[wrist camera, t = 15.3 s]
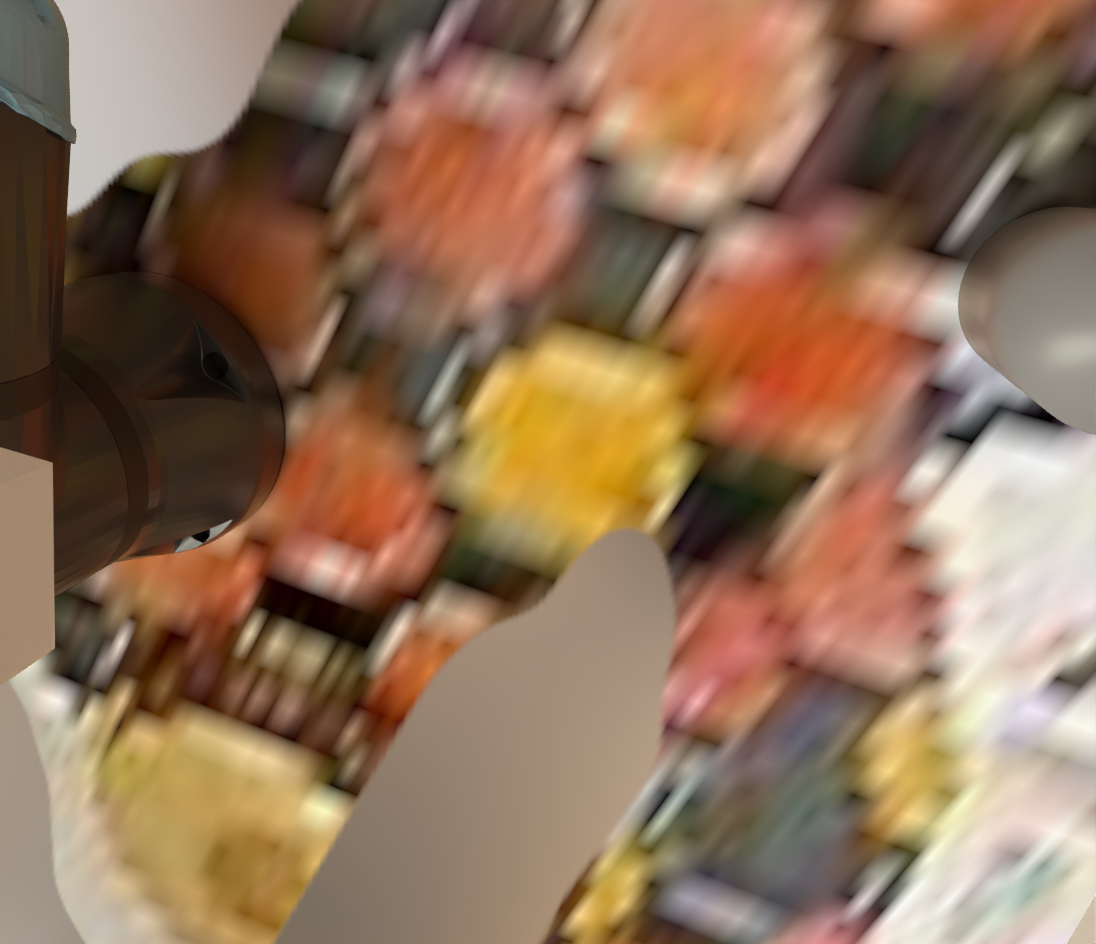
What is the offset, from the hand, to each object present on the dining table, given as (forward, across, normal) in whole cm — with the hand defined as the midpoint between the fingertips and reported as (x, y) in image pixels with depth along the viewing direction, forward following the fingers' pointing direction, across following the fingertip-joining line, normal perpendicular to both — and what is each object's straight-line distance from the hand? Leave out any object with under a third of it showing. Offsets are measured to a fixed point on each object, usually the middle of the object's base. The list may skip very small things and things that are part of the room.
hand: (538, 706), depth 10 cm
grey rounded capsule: (+30, +14, +4) cm, 34 cm away
